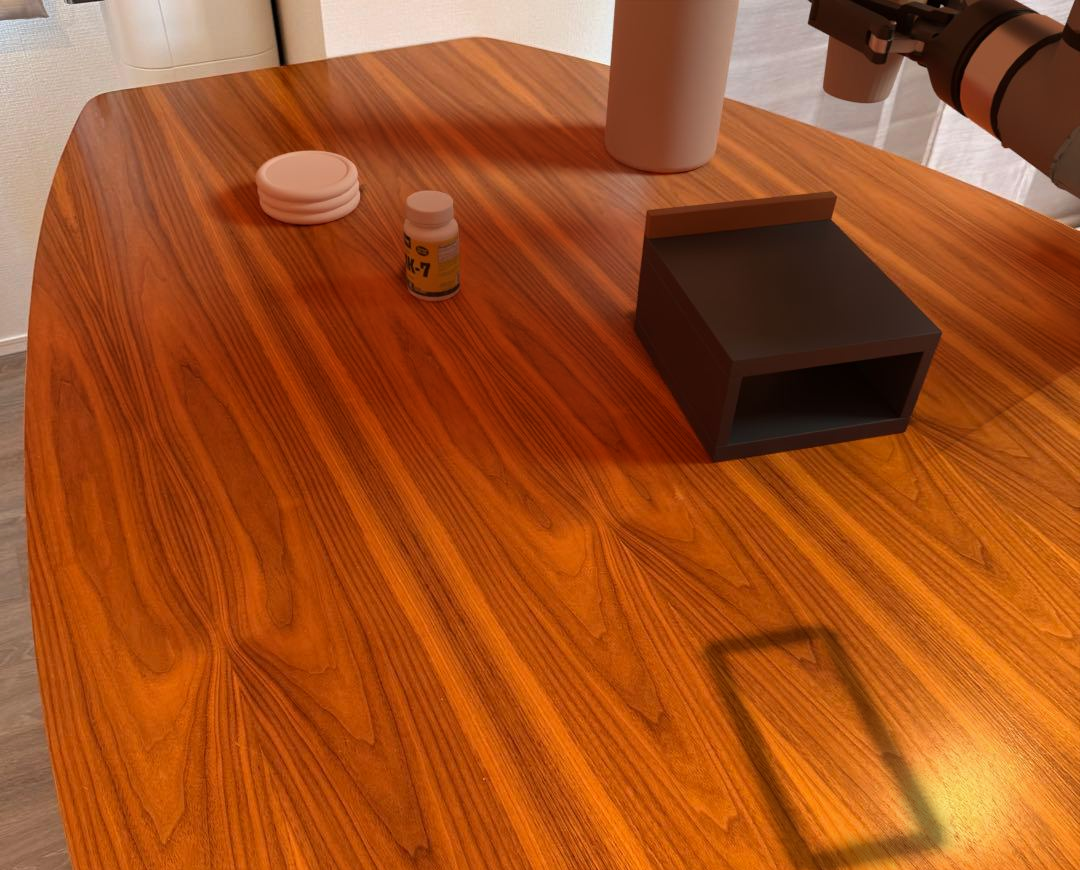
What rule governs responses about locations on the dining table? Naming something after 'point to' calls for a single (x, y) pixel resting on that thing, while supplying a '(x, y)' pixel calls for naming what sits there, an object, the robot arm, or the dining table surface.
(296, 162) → the coaster
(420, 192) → the supplement bottle
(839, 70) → the coffee cup
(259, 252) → the dining table surface
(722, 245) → the dark brown hollow box
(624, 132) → the cylinder vase
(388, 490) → the dining table surface
